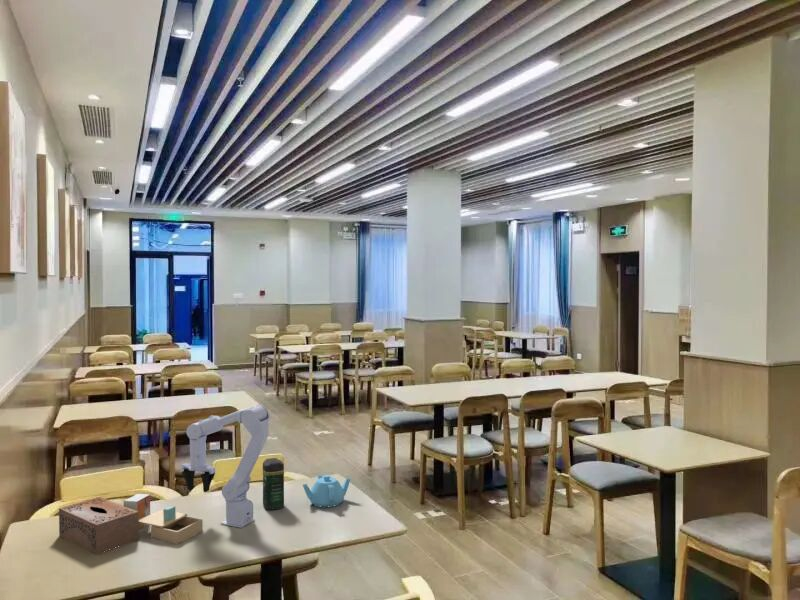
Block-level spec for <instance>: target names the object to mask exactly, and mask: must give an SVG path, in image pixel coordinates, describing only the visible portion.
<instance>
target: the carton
mask: <svg viewBox="0 0 800 600" xmlns="http://www.w3.org/2000/svg"><path fill="white" fill-rule="evenodd" d="M203 521H204V520H203V519H201V518H196V517H191V516H188V515H187V516H186V517H184V518H182V519H180V520H178V521H175V522H173V523H171V524H169V525H167V526H165V527H163V528H160V527H155V526H150V538H151V539H154V540H158V541H162V542H168V543H173V544H176V545H177V544H178V545H179V543H181V542H184V541H186V540H188V539H190V538H191V537H193V536H195V535H197V534H199V533H201V532H202V531H203V529H204V528H203V525H204V524H203V523H204V522H203ZM189 537H190V538H189Z"/></svg>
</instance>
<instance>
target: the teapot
mask: <svg viewBox="0 0 800 600" xmlns="http://www.w3.org/2000/svg"><path fill="white" fill-rule="evenodd" d="M350 483H351V478H349V477H348V478H346V479H345V480H344V482H343V483H342V485H341V483H340V482H339V480H338V479H337V478H335V477H331V475H329V474H326V475H322V474H318V475H317V479H316V481H315V482H314V483H313V485H312V487H311V489H310V488H309V486H308V484H307V483H303V484H302V487H303V489H304V492H305V494H306V497H307V499H309V501H310V502H311V504H312V505H313V504H314V505H313V506H315V505H316V506H315V507H317V506H321V507H320V508H329V507H328V506H333V507H335V506H334V505H337V504H339V503H340V504H341V503H342V502H343V501H344V499H345V496H346V493H347V491H348V488H349V485H350ZM340 504H339V505H340ZM337 506H338V505H337Z"/></svg>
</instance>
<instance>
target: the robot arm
mask: <svg viewBox="0 0 800 600" xmlns="http://www.w3.org/2000/svg"><path fill="white" fill-rule="evenodd" d="M270 418H271V415H270V413H269V411H268V409H267V408H266V406H264V405H262V404H258V405H256V406H250V407H246V408H242V409H239V410H237V411H233V412H231V413H230V414H225V415H223V416H219V415H214V414H211V415H209V416H208V418H206V419H200V420H198V422H194V423H191V424H189V425H188V426H187V428H186V435H187V437H188V439H189V463H188V462H187V463H186V462H185V463H182V464H181V470H183V471H181V473H180V474H181V476H182V478H183V479H184V481H185V484H186V488H187V490H189V491H190V490H192V489H194V486H195V484H194V483H195V482H194V481H195V480H194V479H195V474H196V472H199V473H200V472H202V474H200V478H201V481H202V491H203V493H208V492H210V487H211V483H212V481H213V478H214V477H215V476H216V475H215V474H216V467H214V466H211V465H208V464H207V444H206V443H207V442H206V441H207V437H208V435H210V434H211V435H212V434H213V433H216V432H219V431H221V430H223V427H224V426H226V425H229V424H233V423H234V422H237V423H239V425H240V424H242V425H243V426H244V427H245V429H246V430H247V432H248V433H249V434H250V435H251V437H250V440H249V442H248V444H247V447H246V449H245V450H244V453H243V455H242V457H241V460H240V462H239V463H238V465H237V468H236V469H235V472H234V473H233V475H232V476H230V478H229V479H228V481H227V483H225V484H224V485H223V486H222V489H221V494H222V496H223V498H224V500H225V520H223V521H222V522H220V524H221V525H224V526H231V527H235V528H244V527H246V526H247V525H249V524H251V523H252V522H254V521H255V518H254V503H253V501H252V500H251V499H249V498H248V497H247V492H249V489H250V488H251V487H250V483H251V480H252V477H251V476H250V475H251V474H252V471H253V469H254V467H255V466H256V463H257V461H258V459H259V456H260V455H261V452H262V450H263V448H264V446H265V444H266V442H267V440H268V438H269V422H270Z"/></svg>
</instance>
